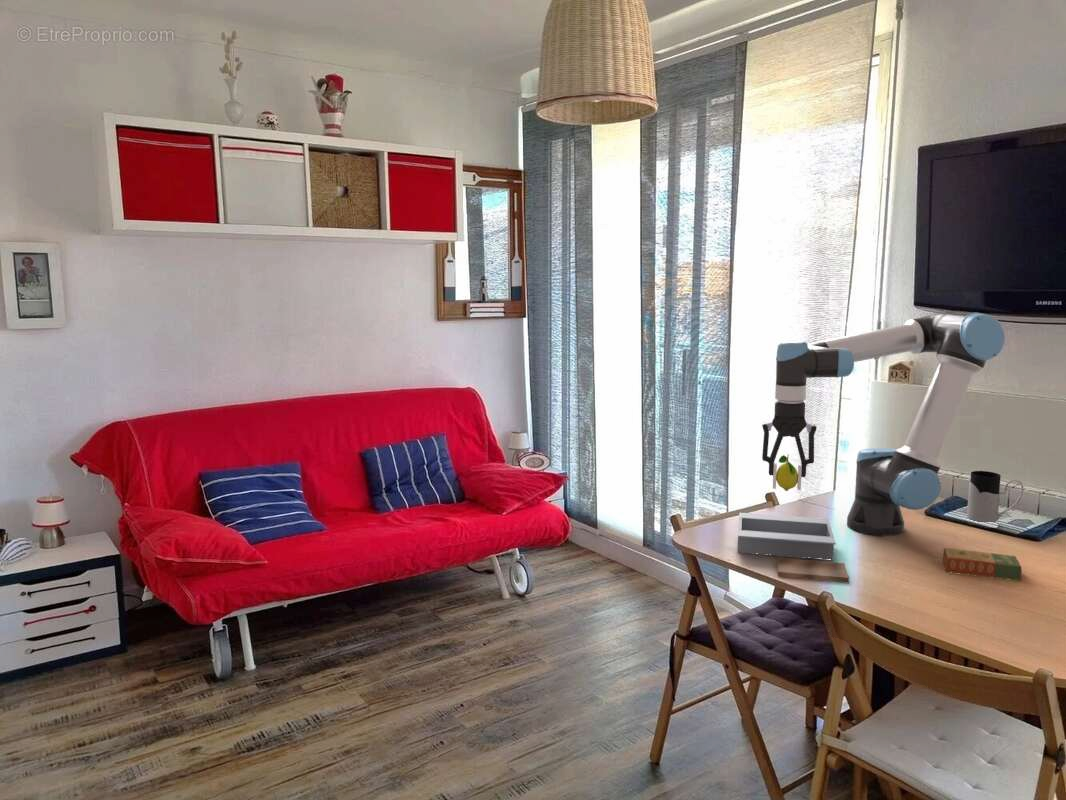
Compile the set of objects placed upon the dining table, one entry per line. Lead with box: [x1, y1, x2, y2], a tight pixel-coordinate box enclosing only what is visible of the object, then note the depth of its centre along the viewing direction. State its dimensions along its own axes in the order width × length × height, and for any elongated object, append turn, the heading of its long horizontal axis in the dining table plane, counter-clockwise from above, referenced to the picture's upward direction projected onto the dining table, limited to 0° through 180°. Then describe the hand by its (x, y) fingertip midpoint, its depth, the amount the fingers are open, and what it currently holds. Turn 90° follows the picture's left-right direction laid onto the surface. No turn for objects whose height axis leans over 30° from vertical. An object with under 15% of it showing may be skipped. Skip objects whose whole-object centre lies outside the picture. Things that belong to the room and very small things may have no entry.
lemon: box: [776, 453, 798, 492], centre depth 209 cm, size 7×6×10 cm
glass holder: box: [966, 470, 1024, 522], centre depth 230 cm, size 9×14×15 cm, turn 74°
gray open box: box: [737, 512, 837, 561], centre depth 212 cm, size 24×21×6 cm
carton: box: [942, 547, 1023, 582], centre depth 195 cm, size 8×16×4 cm, turn 68°
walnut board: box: [776, 557, 850, 583], centre depth 195 cm, size 16×10×1 cm, turn 75°
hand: (786, 487), depth 210 cm, fingers closed on lemon, 5 cm apart
